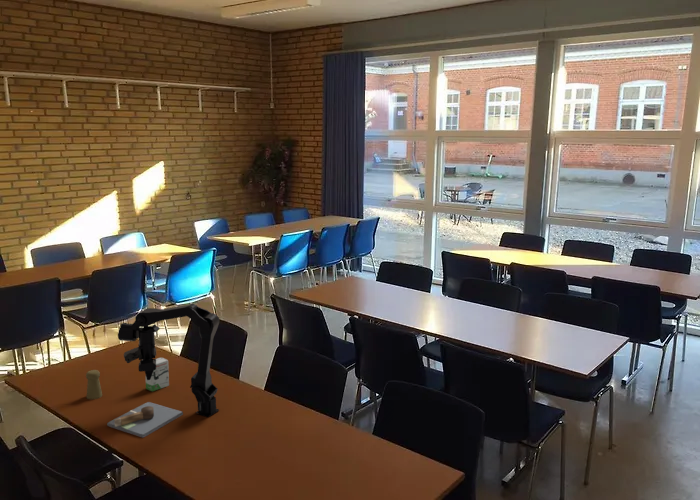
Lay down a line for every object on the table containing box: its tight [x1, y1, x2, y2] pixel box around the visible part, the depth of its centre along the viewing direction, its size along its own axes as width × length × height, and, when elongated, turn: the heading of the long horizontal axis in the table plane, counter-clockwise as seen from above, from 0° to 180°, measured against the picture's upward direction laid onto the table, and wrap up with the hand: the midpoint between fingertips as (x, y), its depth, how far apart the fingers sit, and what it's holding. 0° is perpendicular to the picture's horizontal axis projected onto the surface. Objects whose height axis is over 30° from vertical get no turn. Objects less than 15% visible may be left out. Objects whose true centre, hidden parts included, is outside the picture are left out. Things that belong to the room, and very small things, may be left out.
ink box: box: [145, 357, 170, 392], centre depth 244 cm, size 9×5×12 cm, turn 143°
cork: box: [85, 369, 103, 400], centre depth 234 cm, size 6×6×11 cm
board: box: [107, 401, 184, 438], centre depth 216 cm, size 18×20×1 cm
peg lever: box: [113, 406, 154, 427], centre depth 211 cm, size 14×4×3 cm, turn 131°
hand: (148, 379), depth 223 cm, fingers closed
